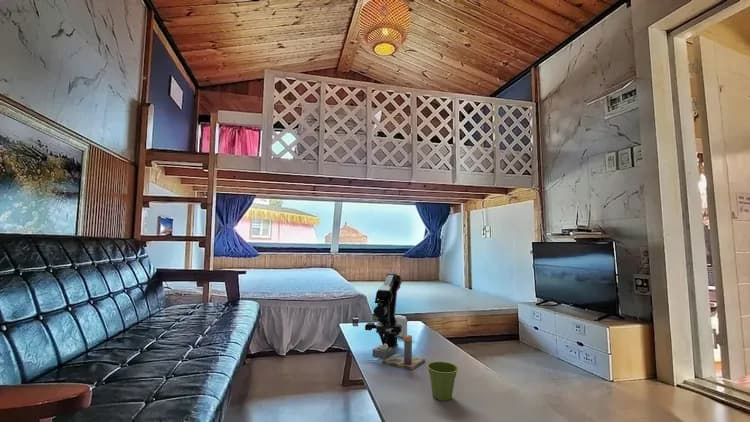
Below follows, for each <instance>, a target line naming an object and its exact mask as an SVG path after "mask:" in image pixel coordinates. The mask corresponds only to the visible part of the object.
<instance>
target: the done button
mask: <svg viewBox="0 0 750 422" xmlns="http://www.w3.org/2000/svg"><path fill="white" fill-rule="evenodd" d="M378 347H379V350H383V351H386V350H388V344H384V345H383V344H382V343H379V344H378Z"/></svg>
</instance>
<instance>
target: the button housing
mask: <svg viewBox="0 0 750 422" xmlns="http://www.w3.org/2000/svg"><path fill="white" fill-rule="evenodd" d="M394 354H395V347H388V350H386V351H383V350H379V346H376V347H375V348H373V349H372V356H374V357H378V358H382V359H387V358H389V357H391V356H392V355H394Z"/></svg>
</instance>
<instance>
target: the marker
mask: <svg viewBox="0 0 750 422" xmlns="http://www.w3.org/2000/svg"><path fill="white" fill-rule="evenodd" d="M412 352H413V335H411V334H407V335H404V338H403V355H404V364H407V365H410V364H412V357H413V355H412V354H413V353H412Z"/></svg>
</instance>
